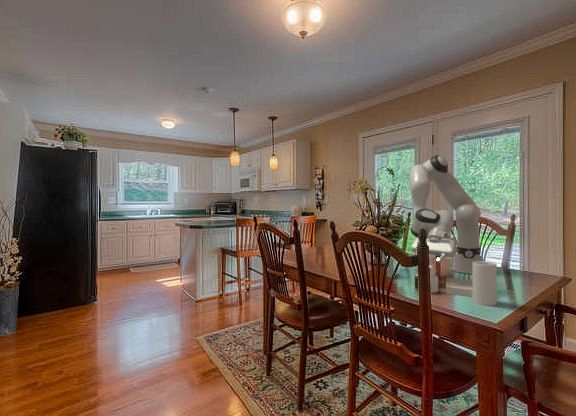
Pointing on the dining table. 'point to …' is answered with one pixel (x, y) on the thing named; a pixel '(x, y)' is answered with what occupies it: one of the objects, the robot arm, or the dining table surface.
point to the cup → (485, 283)
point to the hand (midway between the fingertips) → (428, 260)
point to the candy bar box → (390, 267)
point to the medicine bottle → (432, 280)
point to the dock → (459, 287)
